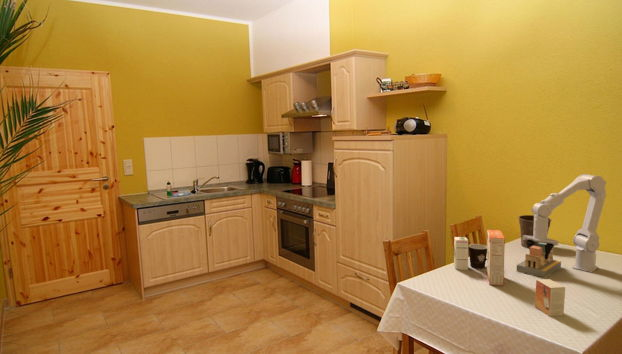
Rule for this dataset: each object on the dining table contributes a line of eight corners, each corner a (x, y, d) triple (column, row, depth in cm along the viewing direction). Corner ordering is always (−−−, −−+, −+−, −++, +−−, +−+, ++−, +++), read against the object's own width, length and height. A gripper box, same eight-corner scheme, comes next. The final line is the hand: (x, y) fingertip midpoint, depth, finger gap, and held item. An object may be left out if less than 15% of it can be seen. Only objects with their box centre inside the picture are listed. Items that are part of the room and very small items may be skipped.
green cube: (540, 249, 191) (541, 241, 190) (549, 251, 188) (550, 243, 187) (537, 251, 188) (537, 243, 188) (546, 253, 185) (547, 244, 185)
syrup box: (468, 270, 187) (469, 240, 185) (455, 269, 188) (455, 239, 186) (466, 266, 192) (466, 237, 191) (453, 265, 194) (453, 236, 192)
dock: (533, 261, 197) (533, 255, 197) (560, 267, 188) (561, 261, 188) (516, 271, 184) (516, 264, 184) (544, 277, 175) (545, 271, 175)
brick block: (532, 253, 185) (533, 245, 184) (542, 255, 182) (542, 247, 181) (529, 255, 182) (529, 247, 182) (538, 257, 179) (539, 249, 179)
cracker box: (485, 273, 182) (486, 229, 179) (500, 275, 180) (501, 230, 177) (488, 285, 168) (489, 237, 166) (504, 286, 166) (505, 238, 164)
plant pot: (550, 252, 212) (551, 222, 210) (516, 248, 220) (517, 219, 218) (550, 244, 226) (551, 216, 224) (518, 241, 234) (519, 214, 232)
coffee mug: (467, 268, 189) (468, 248, 188) (468, 263, 197) (468, 243, 196) (494, 271, 185) (495, 250, 184) (493, 265, 193) (494, 245, 191)
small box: (534, 306, 147) (535, 279, 146) (548, 305, 147) (549, 278, 146) (549, 316, 139) (550, 287, 138) (564, 315, 139) (565, 286, 138)
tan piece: (540, 257, 193) (540, 246, 193) (552, 259, 189) (553, 248, 189) (525, 265, 182) (525, 254, 181) (538, 268, 178) (538, 256, 177)
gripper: (520, 227, 187) (519, 255, 188) (554, 233, 176) (553, 262, 177) (526, 225, 191) (525, 252, 193) (560, 230, 180) (559, 259, 182)
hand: (539, 257), depth 185 cm, fingers closed on tan piece, 5 cm apart
